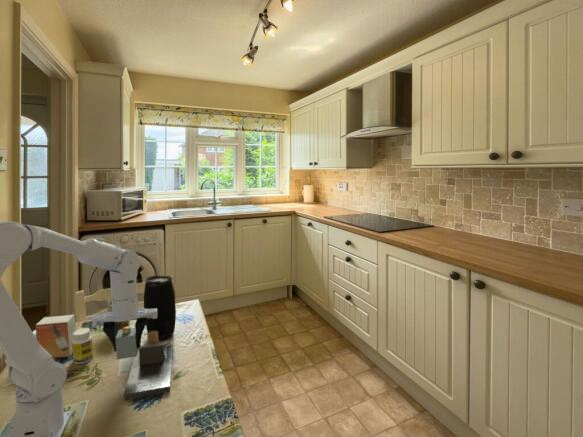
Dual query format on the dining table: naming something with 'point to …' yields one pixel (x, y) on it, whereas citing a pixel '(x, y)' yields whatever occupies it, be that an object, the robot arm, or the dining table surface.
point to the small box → (56, 335)
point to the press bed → (150, 377)
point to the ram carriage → (151, 350)
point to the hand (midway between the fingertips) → (127, 347)
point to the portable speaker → (160, 305)
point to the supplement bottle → (82, 346)
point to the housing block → (126, 343)
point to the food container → (120, 324)
